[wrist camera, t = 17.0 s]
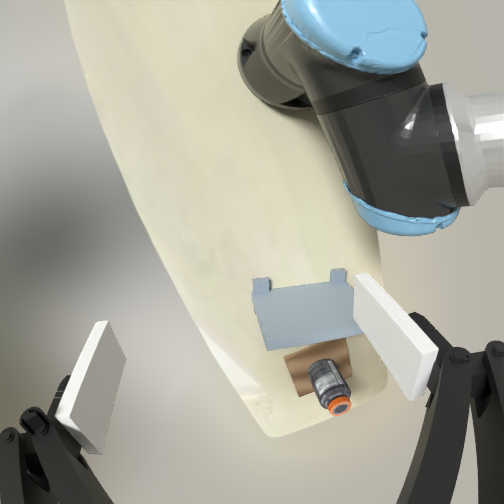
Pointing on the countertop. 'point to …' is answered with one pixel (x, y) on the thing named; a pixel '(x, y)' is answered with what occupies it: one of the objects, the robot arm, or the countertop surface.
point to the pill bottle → (330, 386)
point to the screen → (305, 312)
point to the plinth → (305, 358)
